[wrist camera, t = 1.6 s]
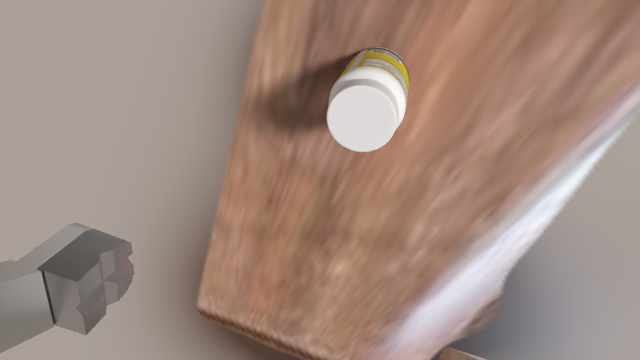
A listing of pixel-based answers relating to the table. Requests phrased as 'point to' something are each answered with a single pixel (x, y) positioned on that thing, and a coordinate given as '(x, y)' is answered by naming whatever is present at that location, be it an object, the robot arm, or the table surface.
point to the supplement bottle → (368, 100)
